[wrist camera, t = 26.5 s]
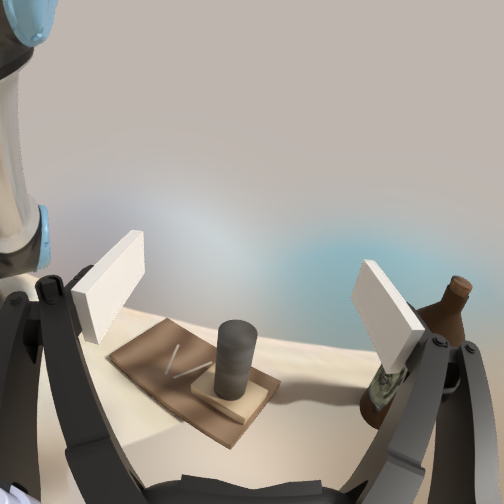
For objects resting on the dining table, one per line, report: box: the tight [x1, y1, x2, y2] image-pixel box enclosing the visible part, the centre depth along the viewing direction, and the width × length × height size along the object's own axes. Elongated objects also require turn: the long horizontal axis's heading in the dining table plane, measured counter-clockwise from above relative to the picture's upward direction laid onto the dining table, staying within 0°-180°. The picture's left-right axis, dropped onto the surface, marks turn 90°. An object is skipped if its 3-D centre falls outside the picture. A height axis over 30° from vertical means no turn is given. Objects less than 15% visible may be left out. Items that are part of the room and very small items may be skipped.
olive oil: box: [360, 276, 472, 430], centre depth 30 cm, size 11×11×25 cm
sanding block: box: [191, 320, 268, 425], centre depth 33 cm, size 9×6×13 cm, turn 58°
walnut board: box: [110, 318, 281, 449], centre depth 39 cm, size 24×14×2 cm, turn 59°
